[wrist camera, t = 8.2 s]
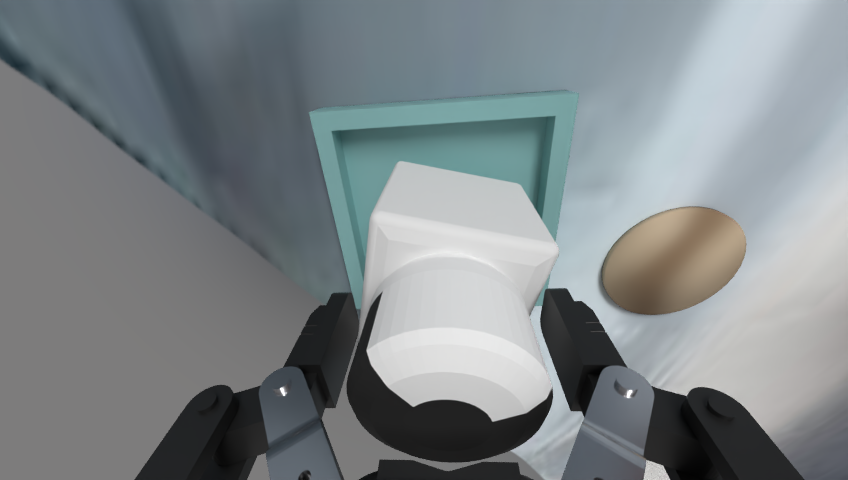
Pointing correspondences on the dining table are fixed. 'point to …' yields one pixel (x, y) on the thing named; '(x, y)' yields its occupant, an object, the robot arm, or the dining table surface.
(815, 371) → the dining table surface
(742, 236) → the cork coaster
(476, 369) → the medicine bottle
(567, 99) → the tray
